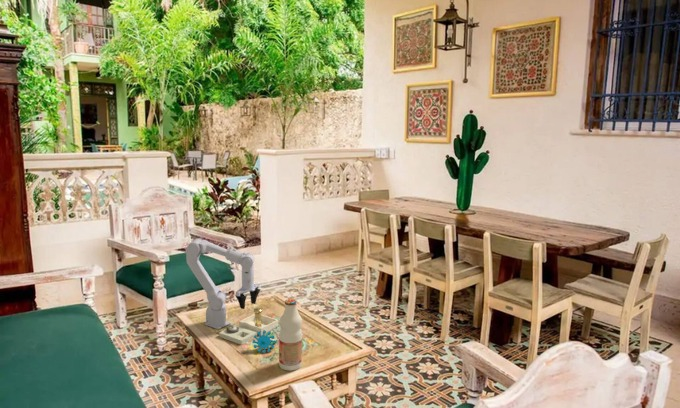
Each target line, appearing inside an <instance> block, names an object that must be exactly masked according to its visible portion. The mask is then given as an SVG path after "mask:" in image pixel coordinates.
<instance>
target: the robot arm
mask: <svg viewBox="0 0 680 408" xmlns="http://www.w3.org/2000/svg"><path fill="white" fill-rule="evenodd" d="M207 252H209V253H212V254H216V255H219V256H222V257H225V259H226V261H229V262H232V263H235V264H237V265H240V266H241V288H239V289H238V290H237V291H235V294H234V297H235V298H236V300H237V301H238V305H239V308H240V309H242V310H245V307H246V301H247V300H246V299H247V297H248V296H247V295H245V294H246V293H248V292H249V295H250V303H251V304H253V305H256V303H257V299H258V296H259V294H260V292H261V289H259V288H260V283H255V281H254V280H255V277H254V275H255V274H254V273H255V272H254V271H255V270H254V262H255V257H254V255H253V254H251V253H250V252H248V253H246V252H243V251H242V252H241V251H238V250H237V248H229V249H226V248H224V247H222V246H219V245H217V244H215V243H212V242H210V241H209V240H207V239H202V238H199V237H196V238H194V239H193V240H192V241H191V242H190V243H188V244H187V247H186V249H185V255H186V257H185V258H186V263H187V265H188V267H189V269H190V270H191V272H192V274H193V275H194V277H195V278H196V279H197V281H198V282H199V283H200V285H201V286H202V287H201V288H203V290H204V292H205V293H206V299H207V301H208V303H209V304H208V305H209V306H208V307H207V308H206V310H205V323H204V325H205V326H208V327H210V328H214V329H215V330H220V329H222V328H223V327H226V326H228V325H230V324H231V323H230V321H227V306H226V304H225V302H226V300H227V295H226V293H225V292H224V291H222V290H221V288H220V287H218V286H216V284H215V283H214V281H213V280H212V278H211V276H209V273H208V272H207V271H206V269H205V267H204V266H203V264H202V263H201V261H200V256H201V254H204V253H207Z"/></svg>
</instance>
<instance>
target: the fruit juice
mask: <svg viewBox="0 0 680 408" xmlns="http://www.w3.org/2000/svg"><path fill="white" fill-rule="evenodd" d="M297 305H298V299H295V298H287V299H285V300H284V306H285V308H284V311H283V313H282V315H280V318H279V327H280V330H279V333H278V334H279V335H278V364H279V368H280V369H281V370H284V371H296V370H298V369H300V368H301V367H302V364H303V330H302V325H303V319H302V316H301V315H300V313H299V311H298V307H297Z"/></svg>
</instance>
